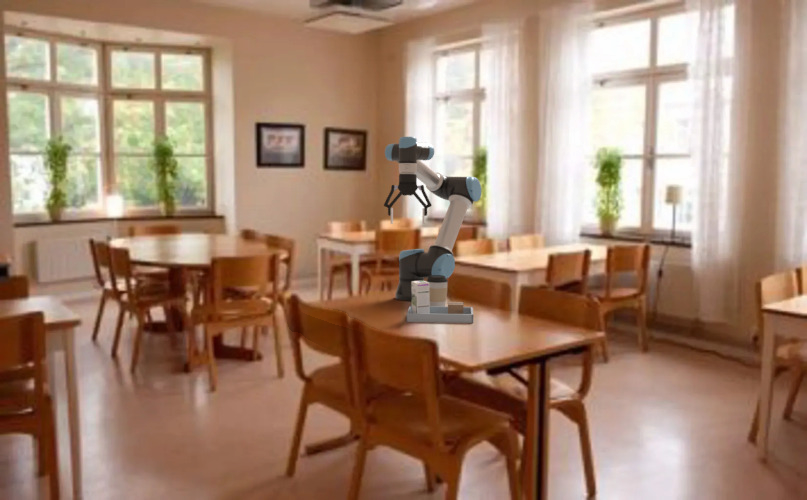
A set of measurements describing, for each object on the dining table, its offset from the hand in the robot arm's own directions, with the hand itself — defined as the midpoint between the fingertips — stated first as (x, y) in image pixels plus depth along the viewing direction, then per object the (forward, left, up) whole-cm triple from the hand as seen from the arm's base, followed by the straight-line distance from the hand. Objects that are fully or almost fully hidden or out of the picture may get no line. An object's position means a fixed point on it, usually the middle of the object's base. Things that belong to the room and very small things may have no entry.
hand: (407, 223), depth 290 cm
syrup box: (+24, +7, -36) cm, 44 cm away
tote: (+24, +15, -37) cm, 46 cm away
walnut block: (+24, +21, -36) cm, 48 cm away
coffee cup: (+3, +13, -37) cm, 39 cm away
